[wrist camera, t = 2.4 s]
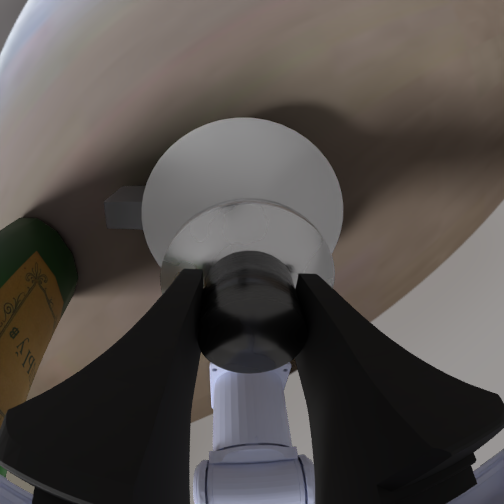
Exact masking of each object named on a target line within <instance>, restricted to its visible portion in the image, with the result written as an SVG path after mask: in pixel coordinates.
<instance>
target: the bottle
mask: <svg viewBox="0 0 504 504" xmlns="http://www.w3.org/2000/svg"><path fill="white" fill-rule="evenodd" d="M77 280H78V275H77V271H76V267H75V263H74V259H73V255H72V253H71V252H70V250H69V249H68V247H67V246H66V244H65V243H64V241H63V240H62V238H61V237H60V235H59V234H58V232H57V231H55V230H54V229H52V228H51V227H49V226H48V225H46V224H45V223H43V222H42V221H41V220H39V219H38V218H19V219H17V220H16V221H14V222H13V223H11V224H10V225H8V226H6V227H5V228H4V229H2V230H1V231H0V428H1V425H2V422H3V420H4V417H5V415H6V413H7V411H8V409H11V408H13V407H15V406H17V405H20V404H22V403H24V402H25V401H26V399H27V396H28V393H29V390H30V387H31V385H32V382H33V380H34V377H35V374H36V372H37V369H38V367H39V365H40V362H41V360H42V358H43V355H44V353H45V351H46V348H47V346H48V344H49V342H50V340H51V338H52V335H53V333H54V331H55V329H56V327H57V325H58V323H59V321H60V319H61V317H62V315H63V313H64V311H65V309H66V308H67V306H68V304H69V302H70V300H71V298H72V296H73V294H74V291H75V287H76V284H77ZM6 473H7V470H6V469H4V468H3V467H1V466H0V474H1V475H2V476H4V477H5V478H6Z"/></svg>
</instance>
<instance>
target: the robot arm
mask: <svg viewBox="0 0 504 504" xmlns="http://www.w3.org/2000/svg"><path fill="white" fill-rule="evenodd" d="M295 290H296V293H297V297H298V300H299V303H300V307H301V310H302V313H303V317H304V320H305V323H306V327H307V340H306V343H305V346H304V347H303V349H302V351H301V352H300V353H299V354H298V355H297V356H296V357H295V361H296V365H297V369H298V372H299V376H300V380H301V384H302V387H303V391H304V395H305V399H306V404H307V408H308V414H309V421H310V429H311V438H312V448H313V458H314V464H313V462H312V461H311V460H310V459H309V458H307V457H306V456H305V455H303V454H302V455H298V453H297V448H296V447H292V443H291V435H290V429H289V423H288V416H287V410H286V404H285V397H284V388H285V385H286V382H287V379H288V376H289V372H290V369H291V363H290V362H289V363H287V364H285V365H283V366H281V367H279V368H277V369H274V370H271V371H267V372H262V373H251V374H247V373H236V372H232V371H228V370H225V369H222V368H220V367H218V366H216V365H214V364H213V363H210V387H211V407H212V408H213V409H214V412H213V451H210V452H209V460H203V461H201V463H200V464H199V465H197V467H196V469H195V473H194V481H193V496H194V503H195V504H504V449H503V450H501V451H500V452H499V453H497V454H496V455H495V456H493V457H492V458H491V459H489V460H488V461H486V462H485V463H484V464H482V465H481V466H480V467H479V468H477V469H476V470H475V471H473V470H472V467H471V465H472V464H473V463H475V461H476V458H475V455H474V453H473V452H475V451H476V450H477V449H479V448H480V447H481V446H482V445H484V444H485V443H487V442H488V441H489V440H490V439H492V438H493V437H494V436H495V435H496V434H498V433H499V432H500V431H501V430H502V429H503V428H504V403H503V401H502V400H501V398H500V397H499V395H498V394H495V393H492V392H490V391H487V390H484V389H481V388H478V387H475V386H473V385H470V384H468V383H465V382H463V381H461V380H458V379H457V378H454V377H452V376H450V375H448V374H446V373H444V372H442V371H440V370H438V369H436V368H435V367H433V366H431V365H429V364H428V363H426V362H424V361H422V360H421V359H419V358H417V357H416V356H414V355H413V354H411V353H410V352H408V351H407V350H405V349H404V348H403V347H401V346H399V345H398V344H397V343H396V342H394V341H393V340H391V339H390V338H389V337H387V336H386V335H385V334H383V333H382V332H381V331H379V330H378V329H377V328H376V327H375V326H373V325H372V324H371V323H370V322H369V321H368V320H366V319H365V318H364V317H363V316H362V315H361V314H360V313H359V312H357V311H356V310H355V309H354V308H353V307H352V306H351V305H350V304H349V303H348V302H347V301H345V300H344V299H343V298H342V297H341V296H340V295H339V294H338V293H337V292H336V291H335V290H334V289H333V288H332V287H331V286H330V285H329V284H328V283H327V282H325V281H324V280H323V279H322V278H321V277H320V276H319V275H317V274H308V273H299V274H298V279H297V284H296V288H295ZM202 296H203V269H185V268H184V269H183V270H182V271H181V272H180V273H179V274H178V276H177V277H176V278H175V280H174V281H173V282H172V284H171V285H170V286H169V287H168V289H167V290H166V291H165V292H164V293H163V295H162V296H161V297H160V298H159V299H158V300H157V302H156V303H155V304H154V305H153V306H152V307H151V308H150V310H149V311H148V312H147V313H146V314H145V315H144V316H143V317H142V318H141V319H140V320H139V321H138V322H137V323H136V324H135V325H134V326H133V327H132V328H131V329H130V330H129V331H128V332H127V333H126V334H125V335H124V336H123V337H122V338H121V339H120V340H118V341H117V342H116V343H115V344H114V345H113V346H112V347H110V348H109V349H108V350H107V351H105V352H104V353H103V354H102V355H100V356H99V357H98V358H97V359H95V360H94V361H93V362H91V363H90V364H88V365H87V366H86V367H84V368H83V369H82V370H80V371H79V372H77V373H76V374H74V375H73V376H71V377H70V378H68V379H66V380H65V381H63V382H62V383H60V384H58V385H56V386H55V387H53V388H51V389H50V390H48V391H46V392H44V393H42V394H40V395H38V396H36V397H34V398H32V399H30V400H28V401H26V402H24V403H22V404H20V405H17V406H15V407H13V408H11V409H8V411H7V413H6V415H5V417H4V420H3V422H2V425H1V428H0V466H1V467H3V468H4V469H6V470H7V471H9V472H10V473H12V474H14V475H15V476H17V477H19V478H20V479H22V480H24V481H25V482H27V483H29V484H31V485H32V486H35V489H34V494H31V493H30V492H28V491H26V490H24V489H22V488H20V487H19V486H17V485H15V484H13V483H12V482H10V481H9V480H7V478H5V477H4V476H2V475H1V474H0V504H190V491H189V452H190V422H191V408H192V400H193V394H194V388H195V382H196V376H197V371H198V365H199V359H200V354H201V350H200V348H199V345H198V340H197V339H198V328H199V319H200V312H201V304H202Z"/></svg>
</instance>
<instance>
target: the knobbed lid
mask: <svg viewBox="0 0 504 504" xmlns="http://www.w3.org/2000/svg"><path fill="white" fill-rule="evenodd" d="M184 268H185V269H203V296H202V304H201V312H200V319H199V328H198V339H197V340H198V345H199V348H200V350H201V352H202V354H203V355H204V356H205V357H206V358H207V359H208V360H209V361H210V362H211V363H213V364H214V365H216V366H218V367H220V368H222V369H225V370H228V371H232V372H236V373H247V374H251V373H262V372H267V371H271V370H274V369H277V368H279V367H281V366H283V365H285V364H287V363H289V362H290V361H292V360H293V359H294V358H295V357H296V356H297V355H298V354H299V353H300V352H301V351H302V349H303V347H304V346H305V343H306V340H307V327H306V323H305V320H304V317H303V313H302V310H301V307H300V303H299V300H298V297H297V293H296V290H295V288H296V284H297V279H298V274H299V273H308V274H317V275H319V276H320V277H321V278H322V279H323V280H324V281H325V282H327V283H328V284H329V285H330V286H331V287H332V288H333V285H334V277H335V270H334V262H333V258H332V255H331V252H330V250H329V248H328V245H327V244H326V242H325V240H324V239H323V237H322V236H321V234H320V233H319V231H318V230H317V228H316V227H315V226H314V225H313V224H312V223H311V222H310V220H308V219H307V218H306V217H305V216H303V215H302V214H301V213H299V212H298V211H296V210H294V209H293V208H291V207H288V206H286V205H284V204H281V203H278V202H275V201H271V200H266V199H259V198H240V199H232V200H227V201H223V202H220V203H216V204H214V205H212V206H209V207H207V208H205V209H203V210H201V211H200V212H198V213H196V214H195V215H194V216H192V217H191V218H190V219H188V220H187V221H186V222H185V223H184V224H183V225H182V226H181V227H180V228H179V230H178V231H177V232H176V234H175V235H174V237H173V238H172V240H171V242H170V244H169V246H168V249H167V251H166V253H165V256H164V259H163V263H162V266H161V274H160V282H161V290H162V294H163V293H164V292H165V291H166V290H167V289H168V287H169V286H170V285H171V284H172V282H173V281H174V280H175V278H176V277H177V276H178V274H179V273H180V272H181V271H182V270H183V269H184Z"/></svg>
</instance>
